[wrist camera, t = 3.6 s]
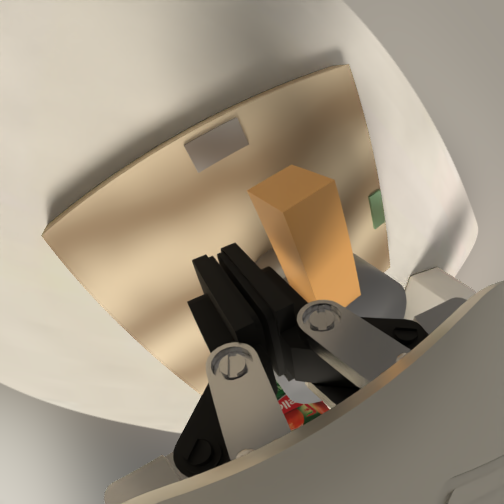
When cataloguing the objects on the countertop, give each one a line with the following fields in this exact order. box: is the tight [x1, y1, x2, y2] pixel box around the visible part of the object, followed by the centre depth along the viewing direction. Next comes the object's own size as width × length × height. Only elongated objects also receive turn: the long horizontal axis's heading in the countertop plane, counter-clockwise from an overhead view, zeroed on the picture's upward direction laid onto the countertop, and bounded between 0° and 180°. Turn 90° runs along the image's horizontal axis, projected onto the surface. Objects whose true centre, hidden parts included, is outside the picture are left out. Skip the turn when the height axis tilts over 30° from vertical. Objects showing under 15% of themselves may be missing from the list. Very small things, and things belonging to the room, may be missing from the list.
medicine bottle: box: [404, 267, 476, 320], centre depth 29 cm, size 7×7×12 cm
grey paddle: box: [247, 165, 407, 404], centre depth 13 cm, size 13×8×3 cm, turn 25°
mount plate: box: [41, 64, 390, 395], centre depth 18 cm, size 18×20×6 cm
